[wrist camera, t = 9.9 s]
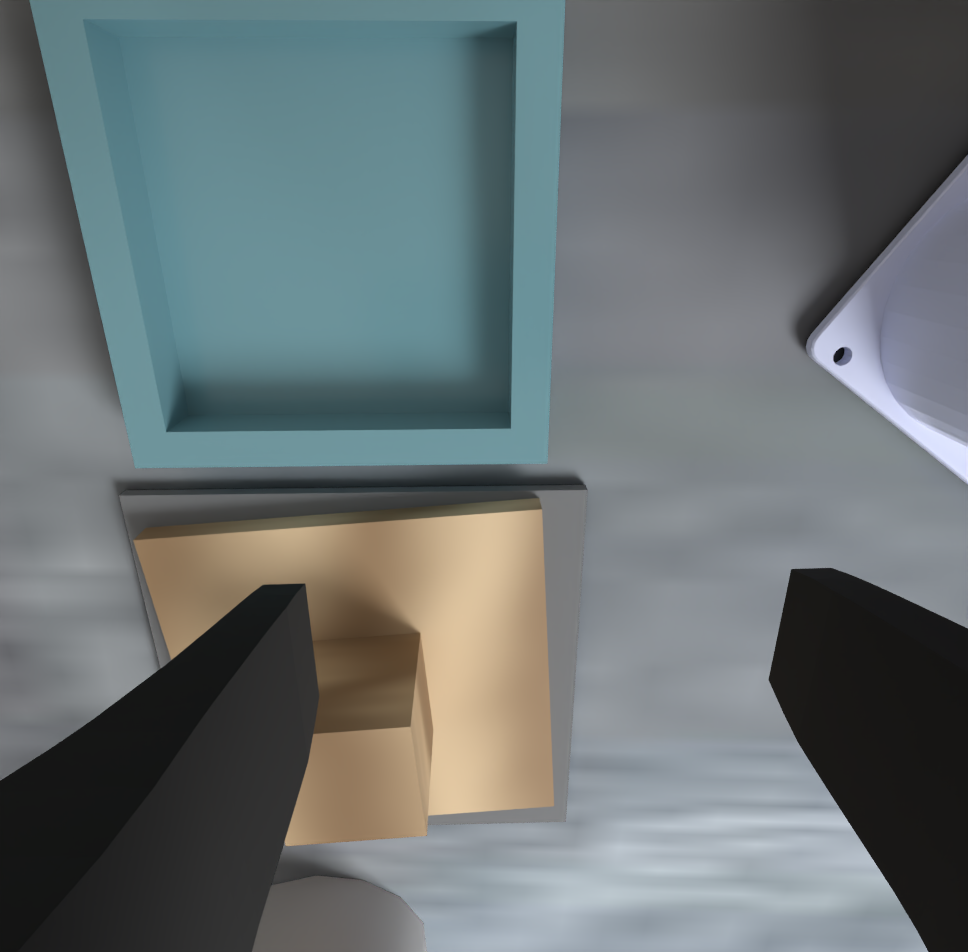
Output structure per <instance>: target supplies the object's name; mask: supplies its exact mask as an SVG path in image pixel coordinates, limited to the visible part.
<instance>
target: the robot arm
mask: <svg viewBox="0 0 968 952" xmlns="http://www.w3.org/2000/svg"><path fill="white" fill-rule="evenodd" d="M841 347H843V348H844V349H845V350H844V356H843V357H842V359H841V360H839V361H838V362H834V361H833V355H834V354H835V352H836V351H837V350H838V349H839V348H841ZM806 350H807V354H808V355H809V356H810V358H811V359H813V360H814V361H815V362H816V363H818V364H819V365H820V366H821V367H822V368H824V369H825V370H826V371H827V372H829V373H830V374H831V375H832V376H834V377H835V378H836V379H837V380H839V381H840V382H841V383H842V384H844V385H845V386H846V387H847V388H848V389H850V390H851V391H852V392H853V393H855V394H856V395H857V396H858V397H860V398H861V399H862V400H863V401H865V402H866V403H867V404H868V405H870V406H871V407H872V408H873V409H875V410H876V411H877V412H878V413H879V414H881V415H882V416H883V417H884V418H886V419H887V420H888V421H889V422H891V423H892V424H893V425H894V426H896V427H897V428H898V429H899V430H901V431H902V432H903V433H904V434H906V435H907V436H908V437H909V438H910V439H912V440H913V441H914V442H915V443H917V444H918V445H919V446H920V447H922V448H923V449H924V450H925V451H927V452H928V453H929V454H930V455H932V456H933V457H934V458H935V459H936V460H938V461H939V462H940V463H941V464H943V465H944V466H945V467H946V468H948V469H949V470H950V471H951V472H953V473H954V474H955V475H956V476H958V477H959V478H960V479H961V480H963V481H964V482H965V483H966V484H967V485H968V155H967V156H966V157H965V158H964V160H963V161H962V162H961V163H960V164H959V165H958V166H957V168H956V169H955V170H954V171H953V172H952V173H951V174H950V176H949V177H948V178H947V179H946V180H945V181H944V182H943V184H942V185H941V186H940V187H939V188H938V189H937V190H936V192H935V193H934V194H933V195H932V196H931V197H930V198H929V200H928V201H927V202H926V203H925V204H924V205H923V206H922V208H921V209H920V210H919V211H918V212H917V213H916V214H915V216H914V217H913V218H912V219H911V220H910V221H909V222H908V224H907V225H906V226H905V227H904V228H903V229H902V230H901V232H900V233H899V234H898V235H897V236H896V237H895V238H894V240H893V241H892V242H891V243H890V244H889V245H888V246H887V248H886V249H885V250H884V251H883V252H882V253H881V254H880V256H879V257H878V258H877V259H876V260H875V261H874V262H873V264H872V265H871V266H870V267H869V268H868V269H867V270H866V272H865V273H864V274H863V275H862V276H861V277H860V278H859V280H858V281H857V282H856V283H855V284H854V285H853V286H852V288H851V289H850V290H849V291H848V292H847V293H846V294H845V296H844V297H843V298H842V299H841V300H840V301H839V303H838V304H837V305H836V306H835V307H834V308H833V309H832V311H831V312H830V313H829V314H828V315H827V316H826V317H825V319H824V320H823V321H822V322H821V323H820V324H819V325H818V327H817V328H816V329H815V330H814V331H813V332H812V333H811V335H810V337H809V338H808V340H807V344H806ZM769 682H770V684H771V686H772V688H773V690H774V693H775V695H776V697H777V699H778V702H779V704H780V706H781V708H782V711H783V713H784V715H785V717H786V719H787V721H788V723H789V725H790V727H791V729H792V731H793V733H794V735H795V737H796V739H797V741H798V743H799V745H800V746H801V748H802V749H803V751H804V753H805V754H806V756H807V758H808V759H809V761H810V762H811V764H812V765H813V767H814V769H815V770H816V772H817V773H818V775H819V777H820V778H821V780H822V781H823V783H824V784H825V786H826V788H827V789H828V791H829V792H830V794H831V795H832V797H833V798H834V800H835V802H836V803H837V805H838V806H839V808H840V809H841V811H842V812H843V814H844V815H845V817H846V818H847V820H848V822H849V823H850V825H851V826H852V828H853V829H854V831H855V832H856V834H857V835H858V837H859V839H860V840H861V842H862V843H863V845H864V846H865V848H866V849H867V851H868V852H869V854H870V855H871V857H872V859H873V860H874V862H875V863H876V865H877V866H878V868H879V869H880V871H881V872H882V874H883V876H884V877H885V879H886V880H887V882H888V883H889V885H890V886H891V888H892V889H893V891H894V893H895V894H896V896H897V898H898V899H899V901H900V903H901V904H902V906H903V908H904V909H905V911H906V913H907V914H908V916H909V918H910V919H911V921H912V923H913V924H914V926H915V928H916V929H917V931H918V933H919V935H920V937H921V939H922V940H923V942H924V944H925V946H926V948H927V950H928V952H968V628H965V627H963V626H961V625H959V624H957V623H955V622H953V621H951V620H948V619H946V618H944V617H942V616H940V615H938V614H936V613H934V612H931V611H929V610H927V609H925V608H923V607H921V606H919V605H917V604H914V603H912V602H910V601H908V600H906V599H904V598H902V597H900V596H897V595H895V594H893V593H891V592H889V591H887V590H884V589H882V588H880V587H878V586H875V585H873V584H871V583H869V582H866V581H864V580H862V579H859V578H857V577H854V576H852V575H849V574H847V573H844V572H841V571H838V570H836V569H833V568H814V569H791V573H790V578H789V583H788V588H787V593H786V598H785V603H784V608H783V612H782V617H781V622H780V627H779V632H778V637H777V642H776V647H775V651H774V656H773V661H772V666H771V671H770V676H769ZM318 702H319V689H318V681H317V673H316V665H315V657H314V649H313V641H312V633H311V625H310V617H309V609H308V601H307V593H306V584H305V583H302V584H268V585H262V586H260V587H259V588H258V589H256V590H255V591H254V592H252V593H251V594H250V595H249V596H248V597H246V598H245V599H244V600H243V601H241V602H240V603H239V604H238V605H237V606H236V607H234V608H233V609H232V610H231V611H230V612H228V613H227V614H226V615H225V616H224V617H223V618H221V619H220V620H219V621H218V622H217V623H215V624H214V625H213V626H212V627H211V628H210V629H208V630H207V631H206V632H205V633H204V634H202V635H201V636H200V637H199V638H197V639H196V640H195V641H194V642H193V643H191V644H190V645H189V646H188V647H187V648H185V649H184V650H183V651H182V652H181V653H179V654H178V655H177V656H176V657H174V658H173V659H172V660H171V661H170V662H168V663H167V664H166V665H165V666H163V667H162V668H161V669H160V670H158V671H157V672H156V673H154V674H153V675H152V676H150V677H149V678H148V679H146V680H145V681H144V682H142V683H141V684H140V685H138V686H137V687H136V688H134V689H133V690H132V691H130V692H129V693H128V694H126V695H125V696H124V697H122V698H121V699H120V700H118V701H117V702H116V703H114V704H113V705H112V706H110V707H109V708H108V709H106V710H105V711H104V712H102V713H101V714H100V715H98V716H97V717H96V718H94V719H93V720H92V721H90V722H89V723H87V724H86V725H84V726H83V727H82V728H80V729H79V730H77V731H76V732H74V733H73V734H72V735H70V736H69V737H67V738H66V739H64V740H63V741H61V742H60V743H58V744H57V745H55V746H54V747H52V748H51V749H49V750H48V751H46V752H45V753H43V754H41V755H40V756H38V757H37V758H35V759H34V760H32V761H31V762H29V763H27V764H26V765H24V766H23V767H21V768H20V769H18V770H16V771H15V772H13V773H12V774H10V775H9V776H7V777H6V778H4V779H2V780H1V781H0V952H252V950H253V946H254V942H255V938H256V935H257V931H258V927H259V924H260V920H261V917H262V914H263V910H264V907H265V904H266V901H267V897H268V894H269V891H270V887H271V884H272V881H273V878H274V874H275V871H276V868H277V864H278V861H279V858H280V855H281V851H282V848H283V845H284V841H285V838H286V835H287V832H288V828H289V825H290V822H291V818H292V815H293V812H294V808H295V805H296V802H297V798H298V795H299V792H300V788H301V785H302V782H303V778H304V775H305V771H306V768H307V764H308V760H309V755H310V749H311V744H312V738H313V733H314V727H315V721H316V715H317V708H318Z"/></svg>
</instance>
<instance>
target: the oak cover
mask: <svg viewBox="0 0 968 952" xmlns="http://www.w3.org/2000/svg"><path fill="white" fill-rule="evenodd" d="M133 541H134V544H135V547H136V551H137V554H138V557H139V560H140V563H141V566H142V569H143V573H144V576H145V579H146V582H147V585H148V588H149V591H150V595H151V598H152V601H153V604H154V607H155V610H156V613H157V616H158V620H159V623H160V626H161V629H162V632H163V635H164V638H165V642H166V645H167V648H168V651H169V654H170V657H171V660H172V659H173V658H174V657H176V656H177V655H178V654H179V653H181V652H182V651H183V650H184V649H185V648H187V647H188V646H189V645H190V644H191V643H193V642H194V641H195V640H196V639H197V638H199V637H200V636H201V635H202V634H204V633H205V632H206V631H207V630H208V629H210V628H211V627H212V626H213V625H214V624H215V623H217V622H218V621H219V620H220V619H221V618H223V617H224V616H225V615H226V614H227V613H228V612H230V611H231V610H232V609H233V608H234V607H236V606H237V605H238V604H239V603H240V602H241V601H243V600H244V599H245V598H246V597H248V596H249V595H250V594H251V593H252V592H254V591H255V590H256V589H258V588H259V587H260V586H262V585H268V584H302V583H305V584H306V593H307V601H308V609H309V617H310V625H311V633H312V641H313V649H314V657H315V665H316V673H317V681H318V689H319V702H318V708H317V715H316V721H315V727H314V733H313V738H312V744H311V749H310V755H309V760H308V764H307V768H306V771H305V775H304V778H303V782H302V785H301V788H300V792H299V795H298V798H297V802H296V805H295V808H294V812H293V815H292V818H291V822H290V825H289V828H288V832H287V835H286V838H285V844H286V846H295V845H308V844H322V843H335V842H349V841H362V840H376V839H389V838H403V837H416V836H427V825H428V816H430V815H443V814H457V813H470V812H484V811H497V810H511V809H524V808H538V807H551V806H554V789H553V765H552V740H551V716H550V691H549V666H548V642H547V617H546V593H545V568H544V544H543V519H542V507H541V503H540V499H539V498H532V499H519V500H506V501H493V502H479V503H466V504H453V505H440V506H427V507H414V508H400V509H387V510H374V511H361V512H348V513H334V514H321V515H308V516H295V517H282V518H268V519H255V520H242V521H229V522H216V523H203V524H189V525H176V526H163V527H150V528H145V529H144V530H143V531H142V532H141V533H140V534H139V535H138V536H137V537H136V538H135V539H134V540H133Z"/></svg>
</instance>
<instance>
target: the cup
mask: <svg viewBox="0 0 968 952" xmlns="http://www.w3.org/2000/svg"><path fill="white" fill-rule="evenodd" d="M252 952H427V949H426V940H425V931H424V923H423V922H422V921H421V920H420V918H419V917H418V916H417V915H416V914H415V913H414V912H413V911H412V909H411V908H410V907H409V906H408V905H407V904H406V903H405V901H404V900H403V899H402V898H401V897H399V896H397V895H394V894H392V893H390V892H388V891H386V890H383V889H381V888H379V887H377V886H374V885H372V884H370V883H368V882H366V881H363V880H356V879H346V878H336V877H326V876H312V877H307V878H303V879H298V880H293V881H289V882H284V883H279V884H275V885H272V886H271V887H270V891H269V894H268V897H267V901H266V904H265V907H264V910H263V914H262V917H261V920H260V924H259V927H258V931H257V935H256V938H255V942H254V946H253V950H252Z"/></svg>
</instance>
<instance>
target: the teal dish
mask: <svg viewBox="0 0 968 952" xmlns="http://www.w3.org/2000/svg"><path fill="white" fill-rule="evenodd" d="M29 1H30V5H31V10H32V14H33V18H34V23H35V27H36V32H37V36H38V41H39V45H40V49H41V54H42V58H43V63H44V67H45V72H46V76H47V80H48V85H49V89H50V94H51V98H52V102H53V107H54V111H55V116H56V120H57V125H58V129H59V133H60V138H61V142H62V147H63V151H64V155H65V160H66V164H67V169H68V173H69V178H70V182H71V186H72V191H73V195H74V200H75V204H76V209H77V213H78V217H79V222H80V226H81V231H82V235H83V239H84V244H85V248H86V253H87V257H88V262H89V266H90V270H91V275H92V279H93V284H94V288H95V293H96V297H97V301H98V306H99V310H100V315H101V319H102V323H103V328H104V332H105V337H106V341H107V346H108V350H109V354H110V359H111V363H112V368H113V372H114V376H115V381H116V385H117V390H118V394H119V399H120V403H121V407H122V412H123V416H124V421H125V425H126V430H127V434H128V438H129V443H130V447H131V452H132V456H133V460H134V465H135V468H193V467H282V466H370V465H459V464H547V460H548V434H549V408H550V383H551V357H552V331H553V305H554V279H555V253H556V227H557V201H558V175H559V149H560V123H561V98H562V72H563V46H564V20H565V0H29Z"/></svg>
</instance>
